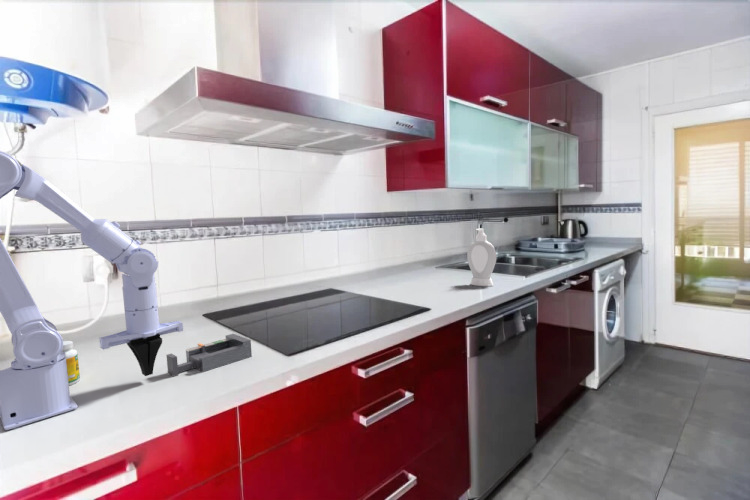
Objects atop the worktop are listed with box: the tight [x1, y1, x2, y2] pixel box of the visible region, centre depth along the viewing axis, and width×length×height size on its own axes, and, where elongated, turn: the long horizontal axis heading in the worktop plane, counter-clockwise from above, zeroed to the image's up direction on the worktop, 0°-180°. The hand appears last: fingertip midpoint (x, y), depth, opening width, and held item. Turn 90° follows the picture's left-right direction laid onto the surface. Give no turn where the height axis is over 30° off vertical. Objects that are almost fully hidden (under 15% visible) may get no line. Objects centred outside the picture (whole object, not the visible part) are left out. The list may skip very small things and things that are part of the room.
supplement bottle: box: [62, 340, 81, 387], centre depth 81 cm, size 5×5×8 cm
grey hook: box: [165, 342, 209, 377], centre depth 88 cm, size 8×6×4 cm
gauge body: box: [185, 333, 253, 373], centre depth 92 cm, size 12×8×4 cm
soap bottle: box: [466, 227, 497, 287], centre depth 169 cm, size 13×8×24 cm, turn 53°
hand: (147, 373), depth 81 cm, fingers closed
